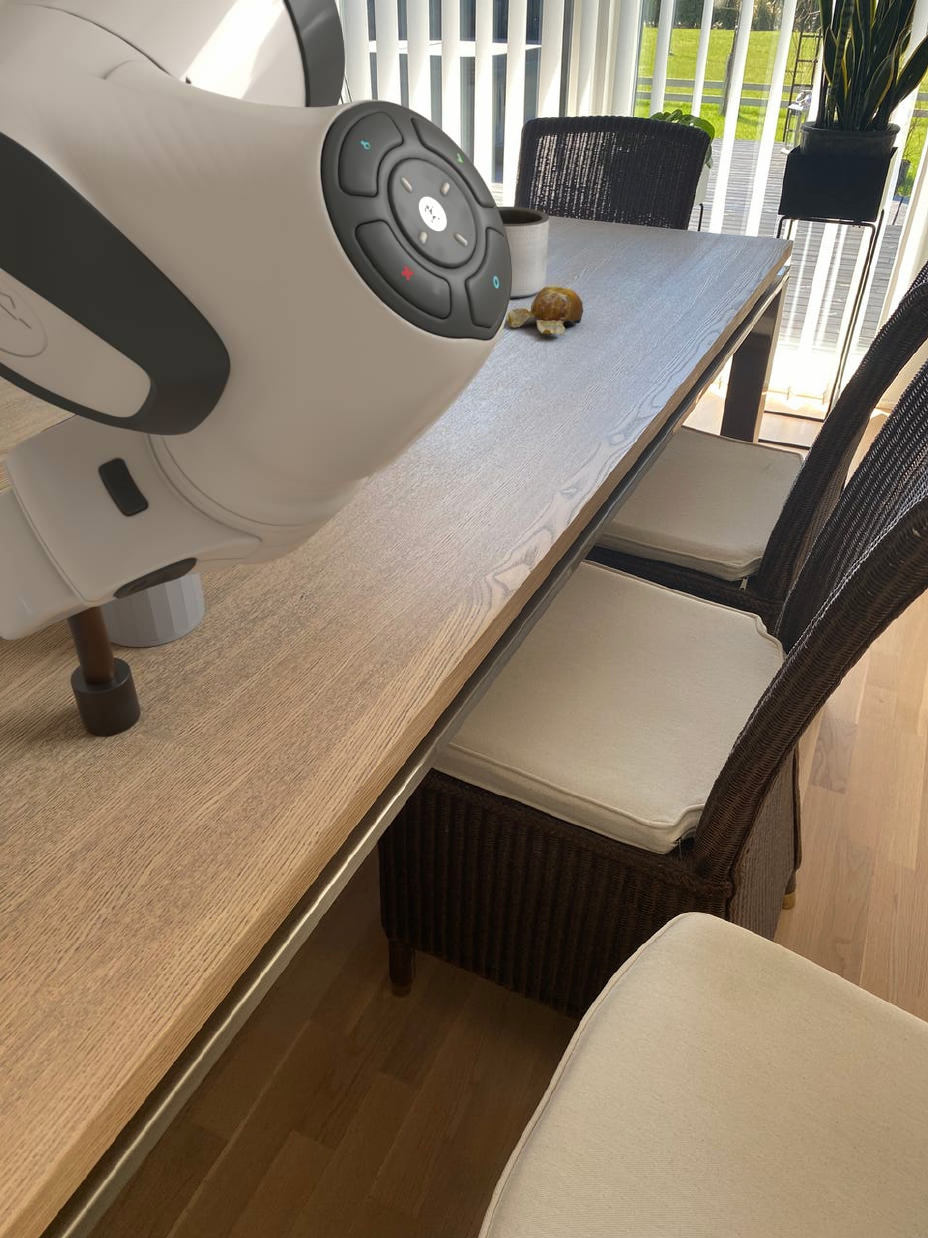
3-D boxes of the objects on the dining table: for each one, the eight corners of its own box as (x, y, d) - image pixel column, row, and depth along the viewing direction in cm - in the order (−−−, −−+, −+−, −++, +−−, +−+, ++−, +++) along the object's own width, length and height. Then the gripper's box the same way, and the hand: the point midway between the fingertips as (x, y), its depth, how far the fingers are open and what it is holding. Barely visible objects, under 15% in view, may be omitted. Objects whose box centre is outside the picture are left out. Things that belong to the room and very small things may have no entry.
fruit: (498, 322, 138) (499, 289, 136) (546, 307, 145) (548, 276, 142) (554, 339, 132) (556, 305, 130) (601, 323, 139) (604, 290, 136)
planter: (550, 280, 157) (555, 208, 150) (538, 303, 147) (542, 227, 140) (477, 274, 159) (478, 203, 153) (459, 296, 149) (460, 221, 143)
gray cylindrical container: (112, 659, 74) (78, 525, 67) (86, 604, 80) (52, 476, 73) (219, 627, 77) (197, 497, 70) (186, 577, 83) (163, 452, 76)
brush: (90, 743, 66) (32, 547, 57) (76, 710, 69) (20, 518, 59) (147, 724, 68) (101, 530, 58) (132, 692, 70) (85, 503, 61)
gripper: (392, 327, 45) (286, 449, 56) (-40, 461, 33) (-66, 583, 44) (458, 442, 45) (339, 542, 57) (51, 617, 33) (2, 699, 44)
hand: (158, 561), depth 50 cm, fingers open, 8 cm apart
